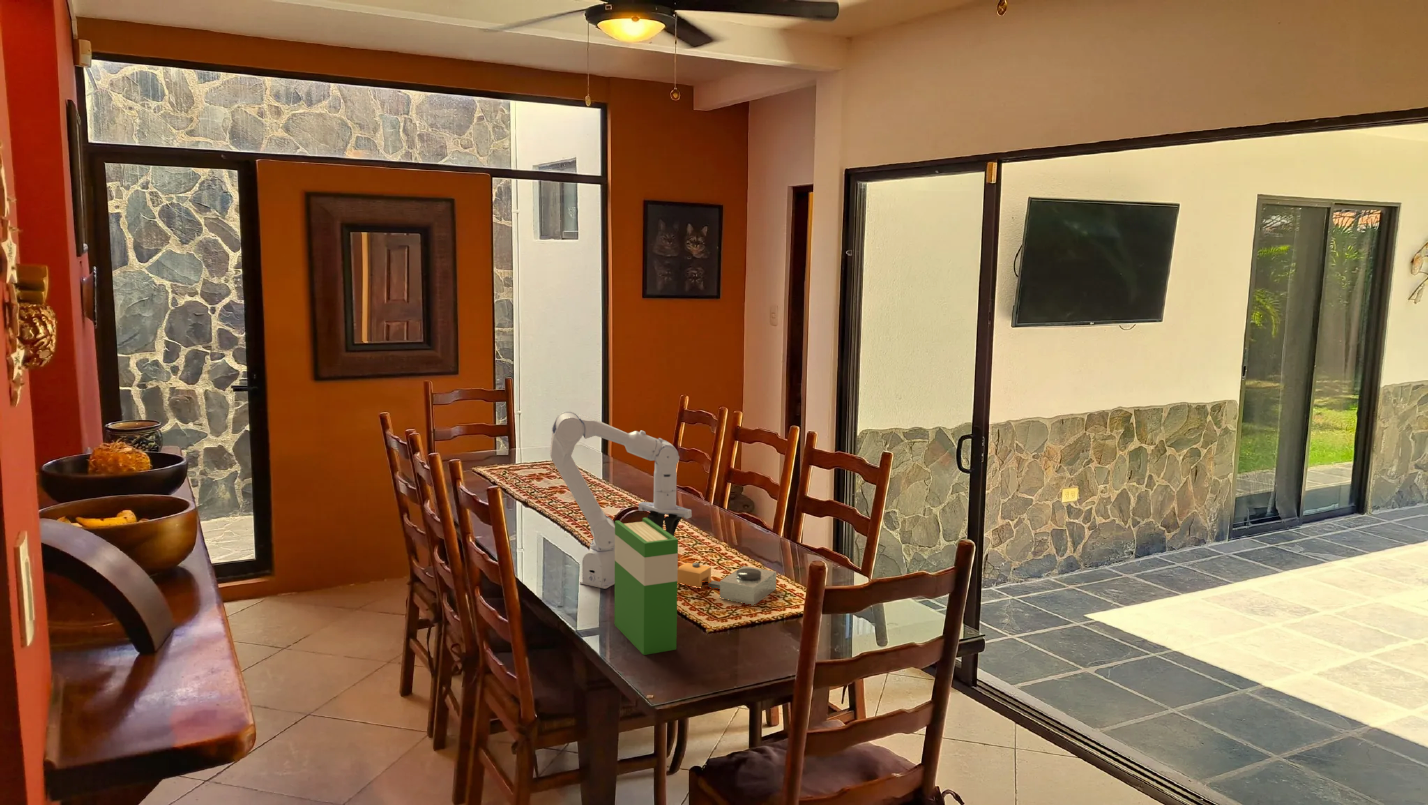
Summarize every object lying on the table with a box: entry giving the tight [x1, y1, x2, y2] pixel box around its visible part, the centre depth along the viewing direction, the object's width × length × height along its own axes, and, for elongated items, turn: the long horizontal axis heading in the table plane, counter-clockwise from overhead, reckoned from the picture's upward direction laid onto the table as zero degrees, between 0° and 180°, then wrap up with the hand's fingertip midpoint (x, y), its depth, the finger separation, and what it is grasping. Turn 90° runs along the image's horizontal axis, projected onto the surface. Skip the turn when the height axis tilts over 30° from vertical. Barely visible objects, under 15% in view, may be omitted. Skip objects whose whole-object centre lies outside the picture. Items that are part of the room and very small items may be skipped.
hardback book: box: [613, 517, 679, 656], centre depth 208 cm, size 18×7×24 cm, turn 26°
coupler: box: [707, 565, 777, 606], centre depth 238 cm, size 13×15×6 cm
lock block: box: [677, 562, 712, 587], centre depth 243 cm, size 6×7×5 cm
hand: (664, 541), depth 246 cm, fingers open, 2 cm apart
